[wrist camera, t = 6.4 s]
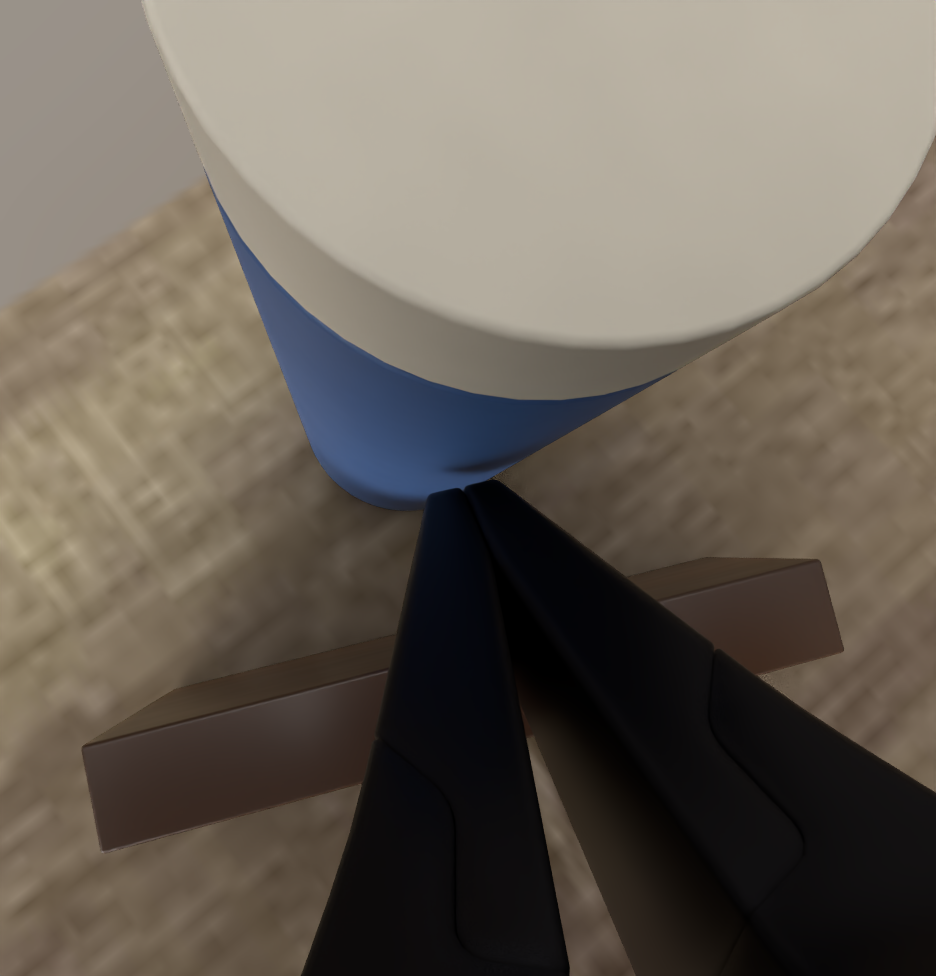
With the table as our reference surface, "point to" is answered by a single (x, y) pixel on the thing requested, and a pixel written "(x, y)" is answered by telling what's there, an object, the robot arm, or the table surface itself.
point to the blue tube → (533, 197)
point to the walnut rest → (357, 699)
